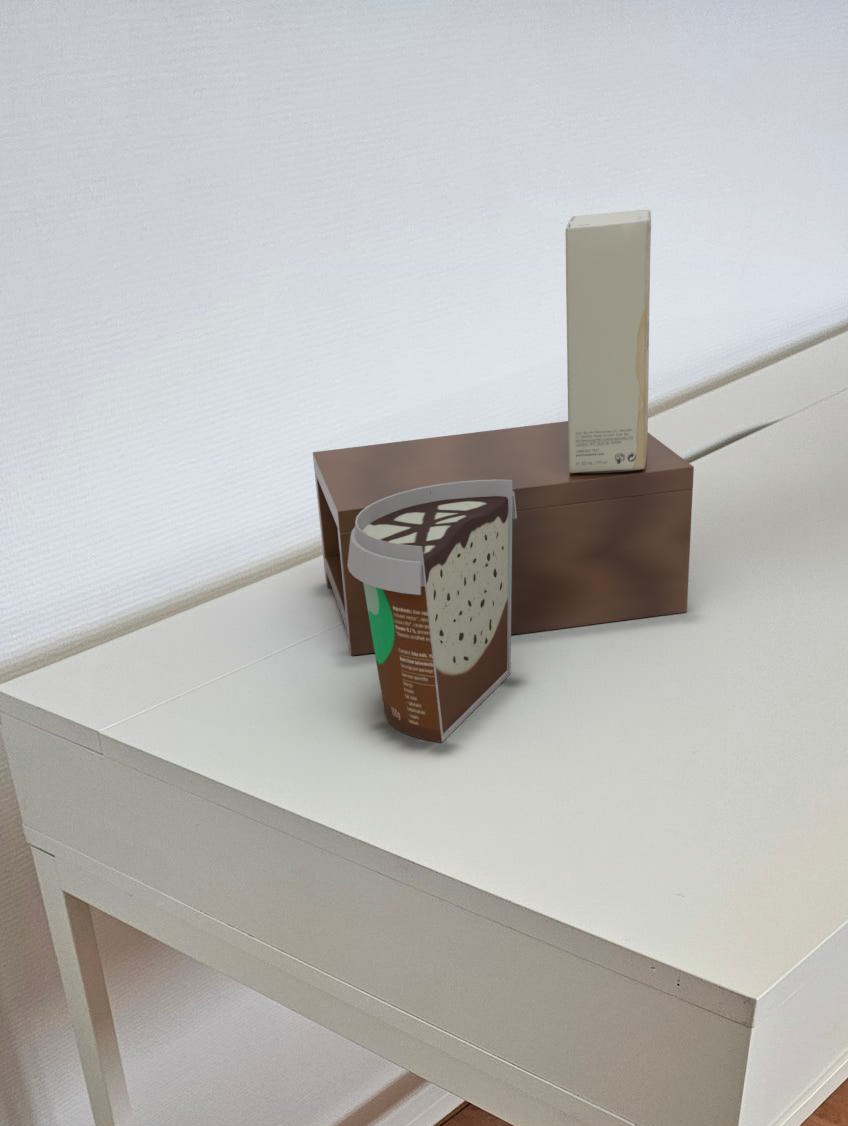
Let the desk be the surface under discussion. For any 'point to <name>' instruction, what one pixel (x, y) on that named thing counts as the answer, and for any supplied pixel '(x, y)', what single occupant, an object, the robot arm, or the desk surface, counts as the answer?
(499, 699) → the desk surface
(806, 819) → the desk surface
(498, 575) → the food container
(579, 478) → the shelf
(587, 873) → the desk surface
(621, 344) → the cosmetic box
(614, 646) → the desk surface
